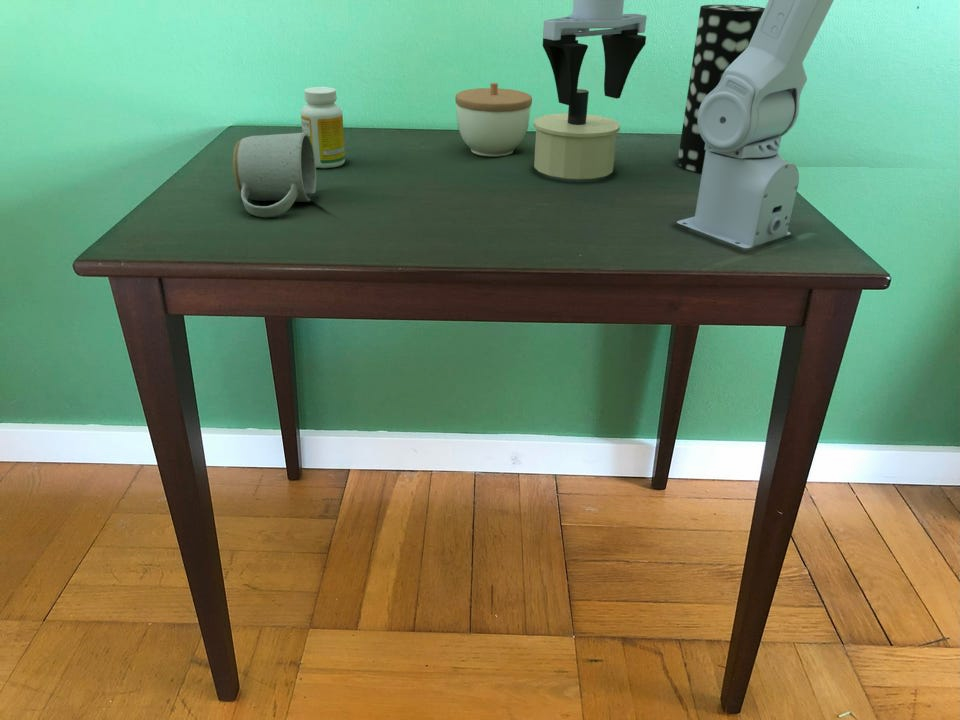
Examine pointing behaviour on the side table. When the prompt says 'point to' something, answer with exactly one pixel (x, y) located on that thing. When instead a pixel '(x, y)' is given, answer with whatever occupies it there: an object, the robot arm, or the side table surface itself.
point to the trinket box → (493, 119)
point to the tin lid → (577, 121)
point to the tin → (574, 155)
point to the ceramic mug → (274, 171)
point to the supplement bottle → (324, 126)
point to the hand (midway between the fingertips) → (589, 100)
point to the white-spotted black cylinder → (712, 67)
